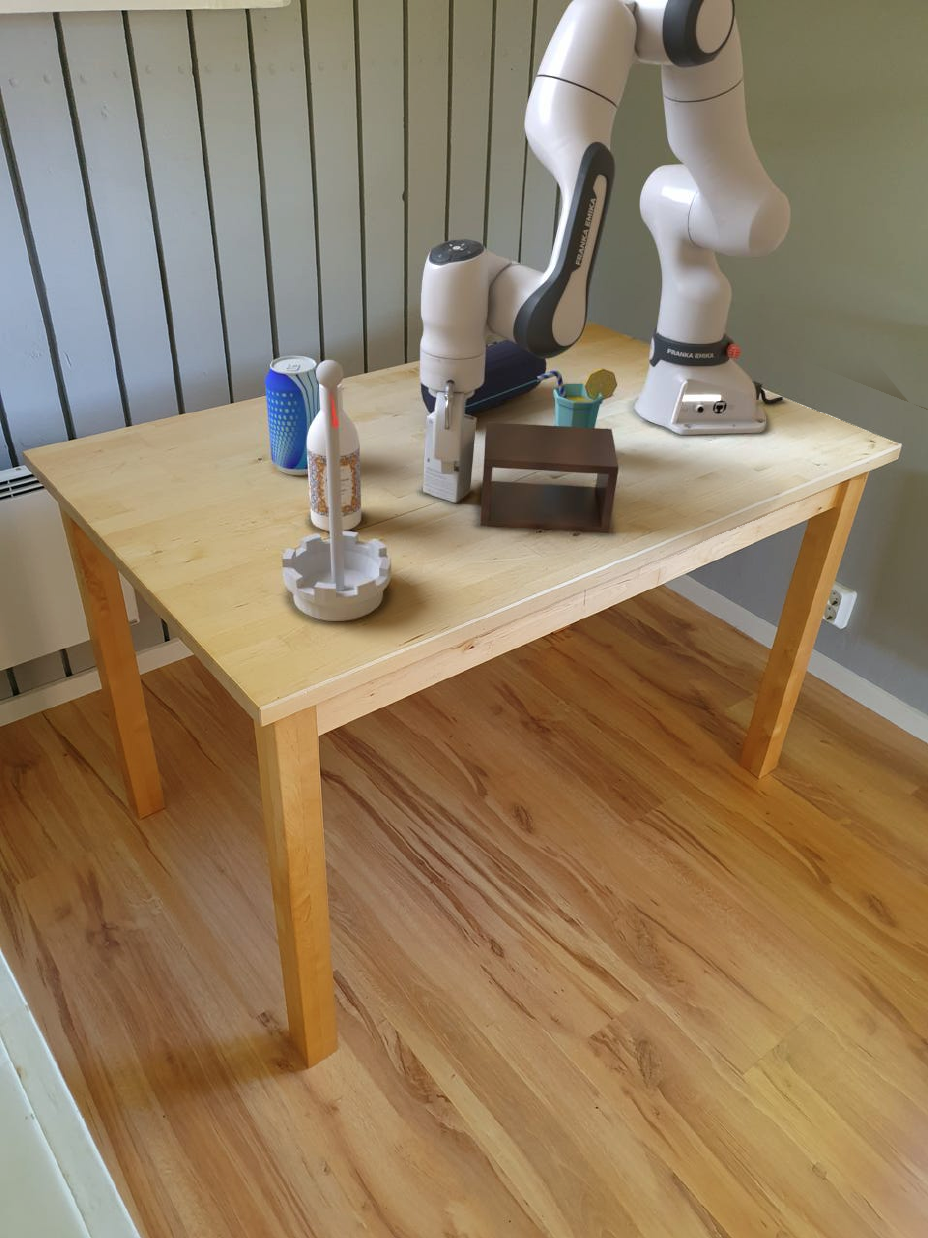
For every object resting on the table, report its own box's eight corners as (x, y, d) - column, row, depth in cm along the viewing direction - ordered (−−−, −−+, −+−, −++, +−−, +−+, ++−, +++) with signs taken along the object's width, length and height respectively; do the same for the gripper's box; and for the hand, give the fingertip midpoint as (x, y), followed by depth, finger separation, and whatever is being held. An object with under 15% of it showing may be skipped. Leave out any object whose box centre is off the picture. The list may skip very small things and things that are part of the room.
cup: (542, 475, 147) (551, 382, 138) (516, 454, 152) (523, 363, 144) (616, 458, 153) (629, 368, 144) (588, 439, 158) (599, 350, 149)
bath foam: (313, 535, 130) (305, 395, 118) (308, 510, 136) (300, 374, 124) (364, 531, 131) (361, 393, 120) (357, 506, 137) (354, 371, 125)
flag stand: (278, 572, 122) (259, 342, 105) (379, 561, 126) (376, 335, 108) (292, 632, 112) (273, 388, 95) (401, 618, 115) (403, 380, 98)
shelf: (602, 491, 144) (611, 428, 138) (609, 532, 134) (618, 467, 128) (482, 484, 144) (486, 421, 138) (480, 525, 134) (484, 459, 128)
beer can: (260, 464, 146) (251, 362, 137) (303, 447, 151) (297, 348, 142) (296, 483, 142) (288, 379, 132) (339, 465, 147) (335, 364, 137)
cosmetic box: (421, 492, 141) (423, 415, 134) (437, 481, 144) (439, 405, 137) (457, 504, 139) (461, 426, 131) (473, 492, 142) (477, 415, 135)
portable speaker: (508, 379, 178) (512, 326, 172) (549, 396, 172) (555, 341, 166) (409, 416, 163) (409, 359, 157) (451, 435, 157) (453, 377, 151)
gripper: (472, 400, 122) (467, 496, 130) (477, 343, 138) (473, 432, 146) (422, 397, 122) (421, 493, 130) (434, 341, 138) (432, 429, 147)
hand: (448, 460), depth 138 cm, fingers closed on cosmetic box, 5 cm apart
